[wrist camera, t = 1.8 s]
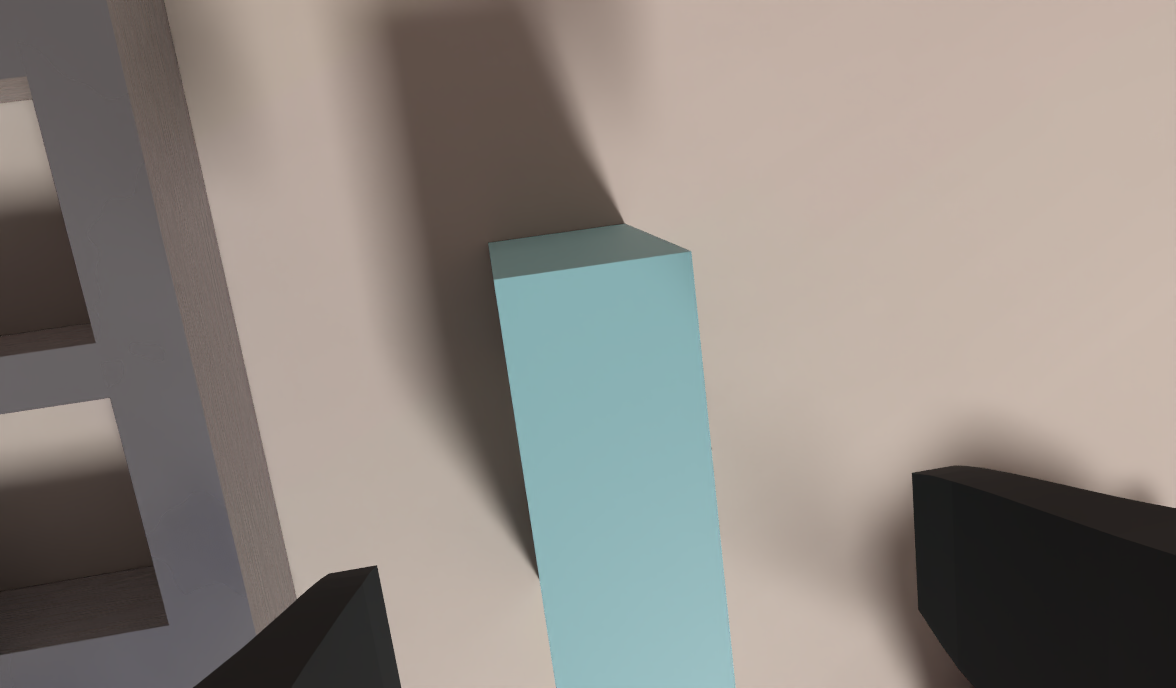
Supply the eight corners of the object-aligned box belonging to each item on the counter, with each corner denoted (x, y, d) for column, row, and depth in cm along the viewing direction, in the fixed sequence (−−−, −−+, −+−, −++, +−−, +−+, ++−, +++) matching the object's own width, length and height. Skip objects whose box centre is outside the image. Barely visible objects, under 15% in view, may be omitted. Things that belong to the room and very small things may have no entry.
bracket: (664, 558, 21) (738, 714, 15) (539, 580, 20) (565, 748, 15) (625, 223, 19) (691, 251, 13) (487, 242, 19) (493, 280, 13)
